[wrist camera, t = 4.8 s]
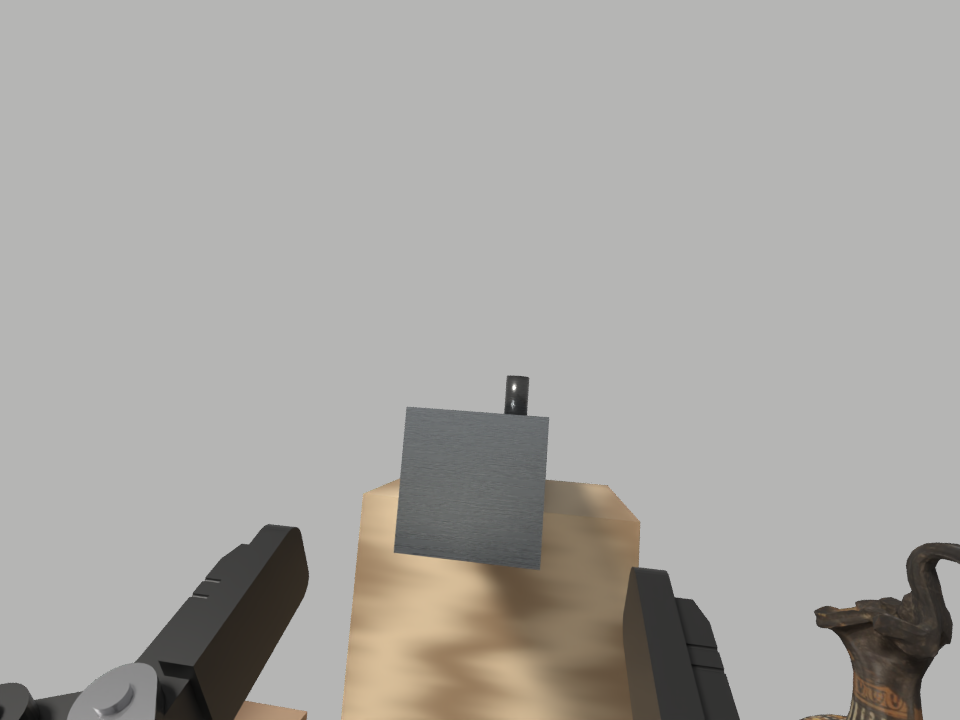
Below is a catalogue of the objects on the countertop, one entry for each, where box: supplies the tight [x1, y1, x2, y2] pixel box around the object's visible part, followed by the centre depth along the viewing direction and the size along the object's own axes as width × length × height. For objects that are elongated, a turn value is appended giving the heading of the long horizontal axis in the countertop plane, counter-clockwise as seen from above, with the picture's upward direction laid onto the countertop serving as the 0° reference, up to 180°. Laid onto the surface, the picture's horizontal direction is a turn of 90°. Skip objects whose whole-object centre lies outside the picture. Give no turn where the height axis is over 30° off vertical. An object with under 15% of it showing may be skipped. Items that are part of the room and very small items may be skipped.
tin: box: [394, 376, 549, 570], centre depth 23 cm, size 4×20×6 cm, turn 172°
